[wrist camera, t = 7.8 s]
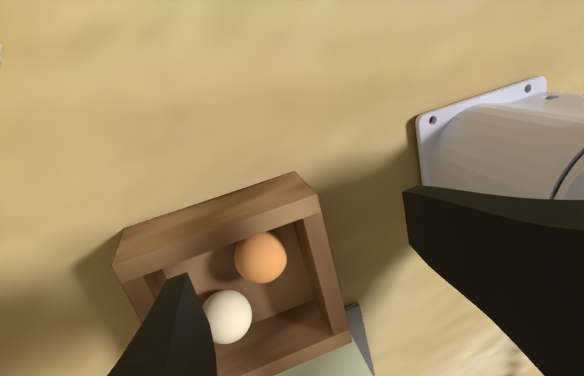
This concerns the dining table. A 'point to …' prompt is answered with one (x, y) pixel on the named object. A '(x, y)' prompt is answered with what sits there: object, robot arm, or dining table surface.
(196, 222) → the box
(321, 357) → the lid
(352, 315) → the mat
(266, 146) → the dining table surface
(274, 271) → the ball
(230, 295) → the ball
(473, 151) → the robot arm
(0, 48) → the supplement box
